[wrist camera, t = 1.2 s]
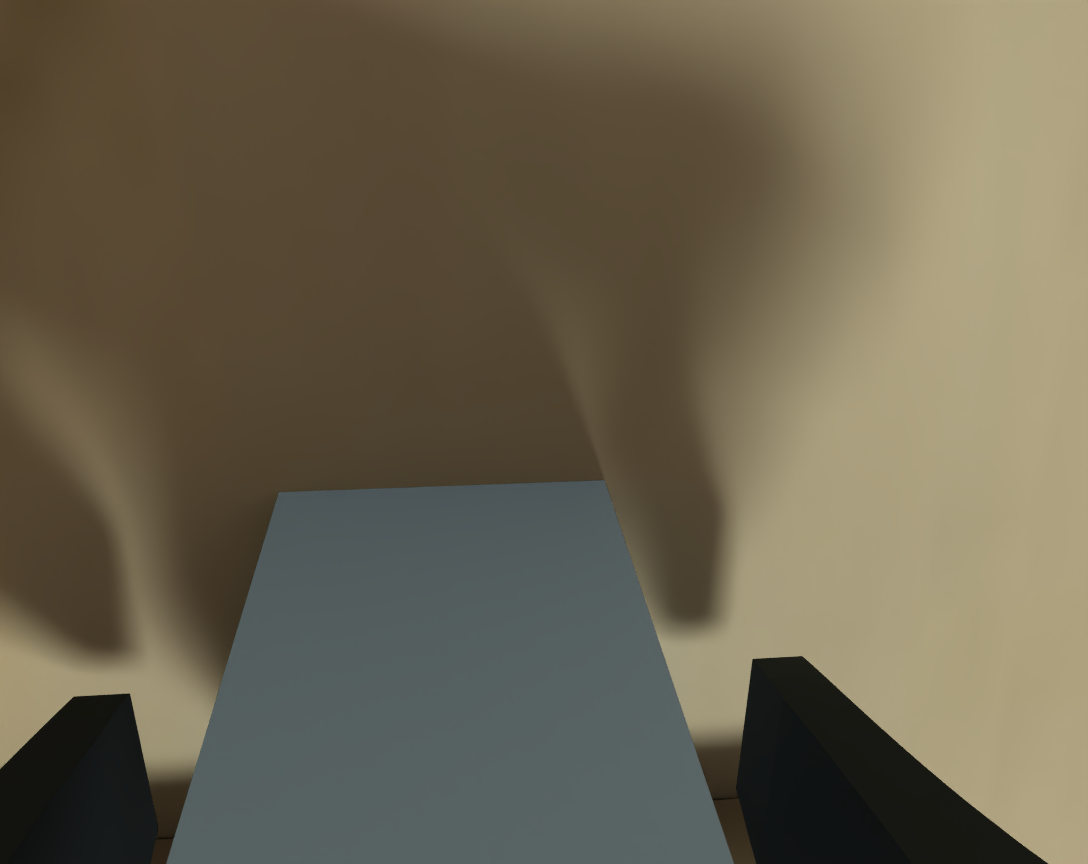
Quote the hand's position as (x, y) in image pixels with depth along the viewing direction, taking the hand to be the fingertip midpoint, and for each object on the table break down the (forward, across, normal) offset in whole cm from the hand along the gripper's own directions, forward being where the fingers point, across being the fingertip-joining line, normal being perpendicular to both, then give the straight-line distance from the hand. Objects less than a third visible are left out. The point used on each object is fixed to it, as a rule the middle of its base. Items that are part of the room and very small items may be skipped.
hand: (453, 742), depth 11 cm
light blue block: (+2, 0, +2) cm, 2 cm away
